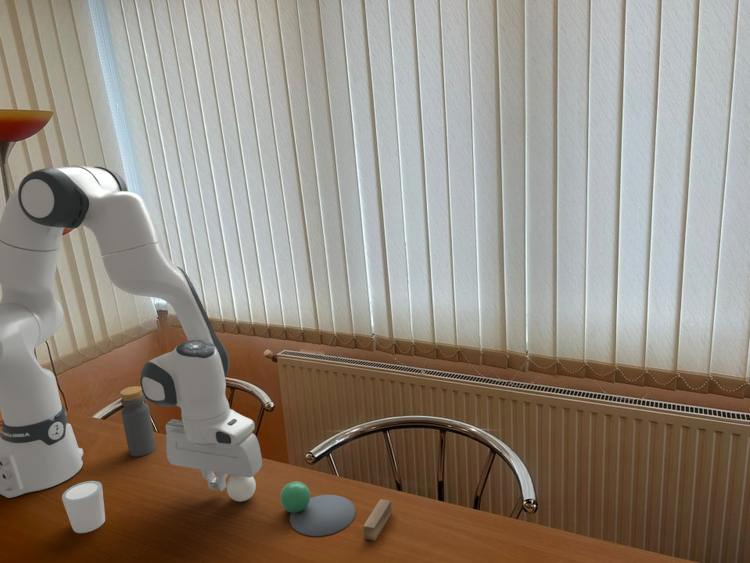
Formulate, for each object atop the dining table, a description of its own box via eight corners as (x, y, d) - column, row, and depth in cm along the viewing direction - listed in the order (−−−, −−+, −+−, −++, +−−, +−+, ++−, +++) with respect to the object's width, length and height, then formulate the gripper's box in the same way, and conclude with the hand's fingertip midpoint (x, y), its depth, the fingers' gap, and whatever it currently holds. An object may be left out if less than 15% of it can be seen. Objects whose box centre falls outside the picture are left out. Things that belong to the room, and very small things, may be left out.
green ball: (285, 486, 109) (306, 509, 109) (300, 470, 114) (320, 492, 114) (269, 501, 112) (289, 524, 111) (284, 485, 117) (304, 506, 116)
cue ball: (239, 478, 114) (250, 504, 114) (254, 464, 119) (265, 489, 119) (216, 483, 116) (227, 509, 116) (232, 469, 121) (242, 493, 122)
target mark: (277, 529, 108) (277, 528, 108) (309, 491, 119) (309, 490, 119) (338, 541, 104) (338, 540, 104) (365, 501, 115) (365, 500, 114)
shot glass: (93, 536, 111) (86, 502, 109) (60, 534, 112) (53, 500, 110) (116, 513, 117) (109, 481, 115) (85, 511, 119) (78, 479, 117)
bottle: (145, 457, 137) (133, 396, 133) (123, 455, 139) (111, 395, 135) (161, 444, 142) (150, 385, 139) (140, 442, 144) (129, 384, 141)
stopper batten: (364, 538, 104) (363, 525, 103) (381, 511, 111) (380, 499, 111) (375, 540, 103) (374, 528, 103) (391, 512, 110) (390, 500, 110)
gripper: (153, 425, 118) (165, 489, 121) (242, 438, 110) (252, 505, 113) (175, 411, 123) (185, 472, 127) (261, 422, 115) (270, 486, 119)
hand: (217, 488), depth 120 cm, fingers closed
